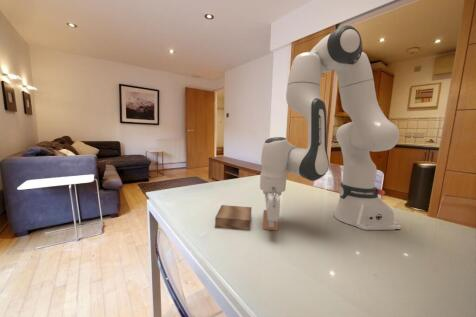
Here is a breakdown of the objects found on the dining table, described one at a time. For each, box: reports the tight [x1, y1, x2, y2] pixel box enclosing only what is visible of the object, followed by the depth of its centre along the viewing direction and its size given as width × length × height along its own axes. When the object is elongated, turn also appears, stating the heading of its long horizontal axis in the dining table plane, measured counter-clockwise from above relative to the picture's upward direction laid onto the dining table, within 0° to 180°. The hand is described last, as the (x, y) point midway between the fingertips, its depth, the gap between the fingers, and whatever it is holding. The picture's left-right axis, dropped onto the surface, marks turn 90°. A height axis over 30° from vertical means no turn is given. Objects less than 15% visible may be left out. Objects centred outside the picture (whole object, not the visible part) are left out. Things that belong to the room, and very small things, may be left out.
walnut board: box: [214, 204, 252, 231], centre depth 76 cm, size 12×12×4 cm
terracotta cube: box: [262, 209, 280, 231], centre depth 73 cm, size 5×5×5 cm
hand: (270, 222), depth 73 cm, fingers closed on terracotta cube, 5 cm apart
